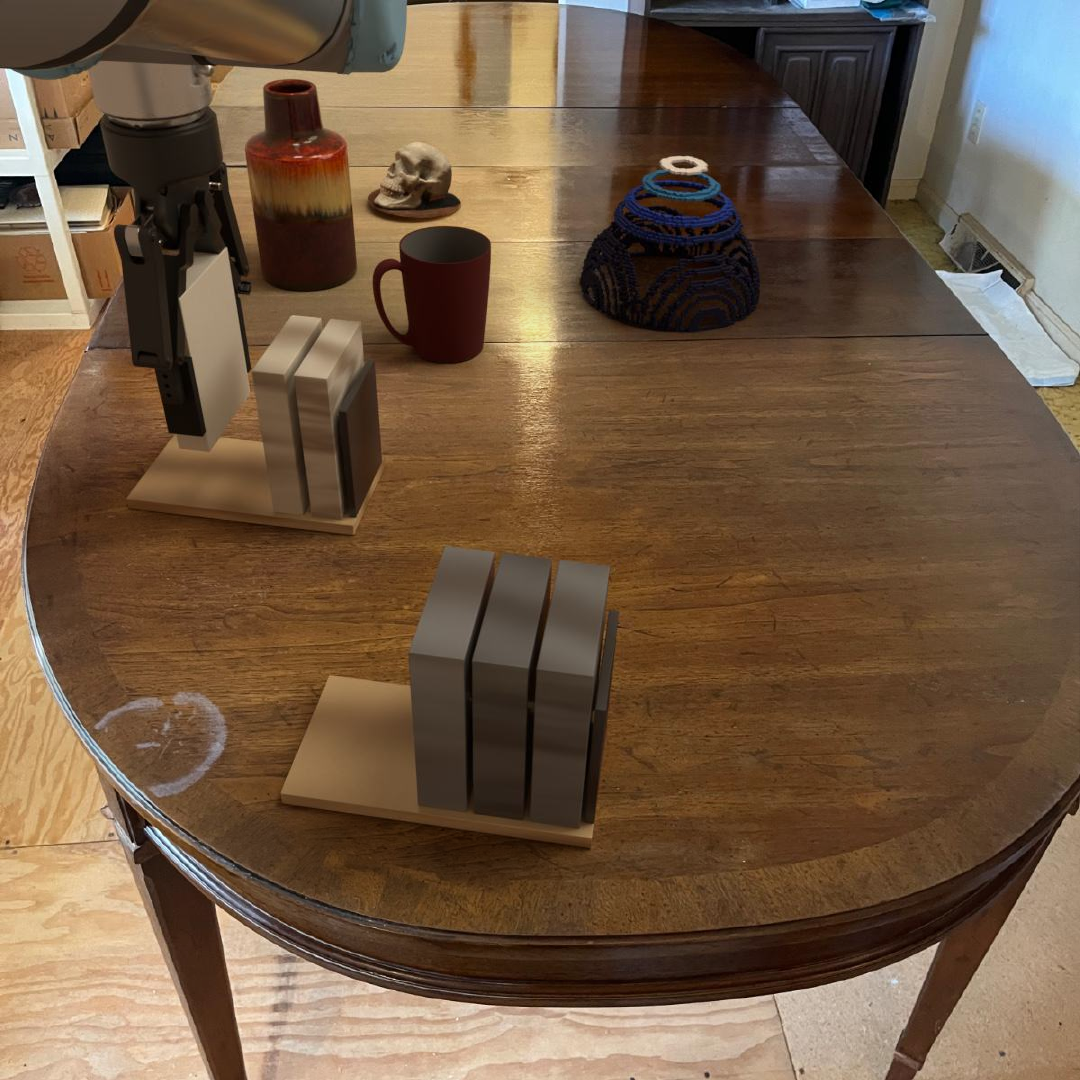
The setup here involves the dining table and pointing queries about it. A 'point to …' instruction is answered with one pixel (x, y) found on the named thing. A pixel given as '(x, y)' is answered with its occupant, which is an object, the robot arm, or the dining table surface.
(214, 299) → the white book
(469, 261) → the mug
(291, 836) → the dining table surface
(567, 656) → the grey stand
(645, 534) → the dining table surface
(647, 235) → the decorative bowl
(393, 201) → the skull
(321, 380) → the beige stand
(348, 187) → the vase
